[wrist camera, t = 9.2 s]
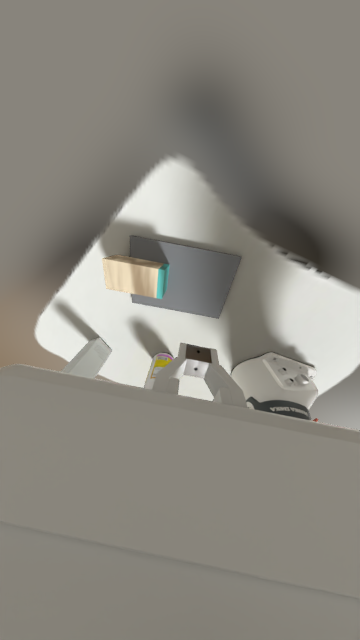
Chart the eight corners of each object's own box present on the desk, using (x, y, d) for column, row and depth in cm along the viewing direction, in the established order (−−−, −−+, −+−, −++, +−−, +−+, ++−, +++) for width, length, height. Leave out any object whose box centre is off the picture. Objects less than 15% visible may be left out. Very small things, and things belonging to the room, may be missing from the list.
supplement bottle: (163, 369, 44) (153, 413, 33) (149, 357, 41) (133, 401, 30) (179, 361, 41) (174, 406, 30) (164, 348, 39) (153, 392, 28)
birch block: (164, 270, 21) (102, 258, 21) (161, 299, 24) (106, 288, 24) (169, 264, 26) (117, 254, 25) (166, 289, 28) (119, 280, 28)
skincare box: (89, 340, 40) (52, 376, 29) (100, 336, 38) (66, 372, 28) (103, 354, 42) (74, 392, 32) (114, 351, 41) (87, 389, 31)
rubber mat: (240, 256, 25) (241, 256, 24) (217, 316, 32) (218, 318, 31) (131, 235, 24) (129, 235, 24) (133, 300, 31) (132, 302, 31)
